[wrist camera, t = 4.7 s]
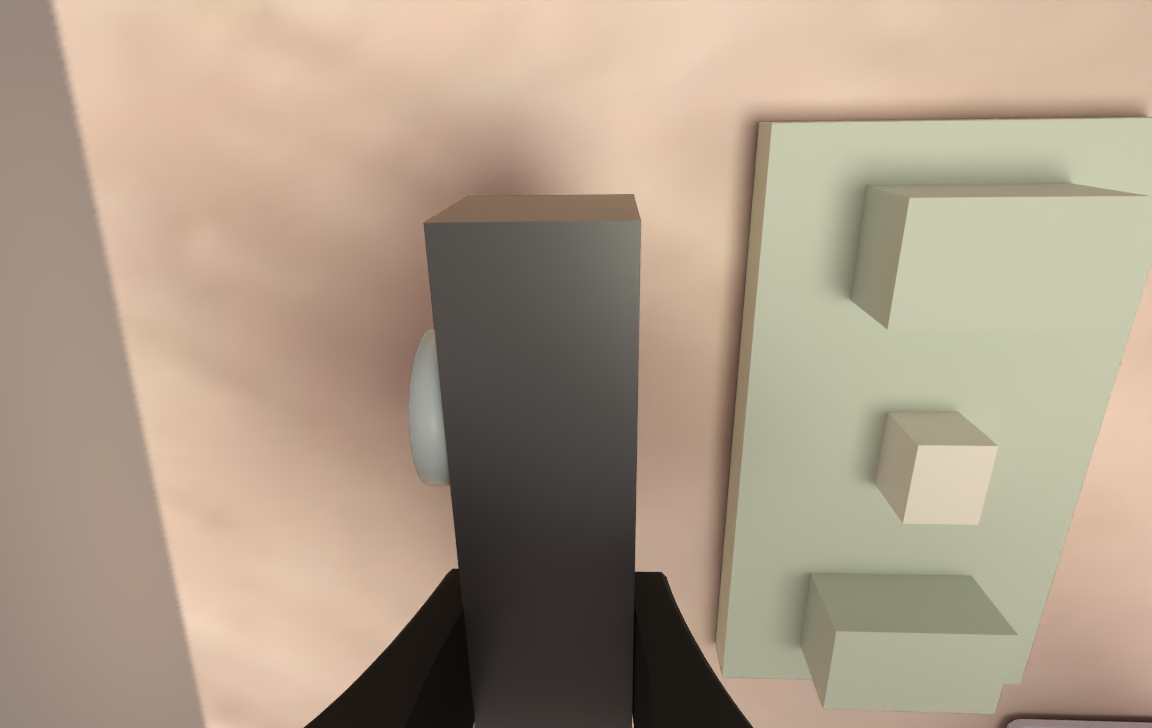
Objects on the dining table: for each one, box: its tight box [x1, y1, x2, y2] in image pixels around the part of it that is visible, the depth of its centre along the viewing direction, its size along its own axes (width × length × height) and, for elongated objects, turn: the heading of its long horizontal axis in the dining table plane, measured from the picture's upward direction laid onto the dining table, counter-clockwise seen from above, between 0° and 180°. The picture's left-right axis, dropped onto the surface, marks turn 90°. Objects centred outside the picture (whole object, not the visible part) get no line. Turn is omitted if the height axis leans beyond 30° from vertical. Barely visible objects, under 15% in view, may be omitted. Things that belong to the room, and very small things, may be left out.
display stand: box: [716, 117, 1152, 714], centre depth 19 cm, size 18×10×4 cm, turn 1°
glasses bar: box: [409, 194, 641, 728], centre depth 13 cm, size 16×4×3 cm, turn 1°
